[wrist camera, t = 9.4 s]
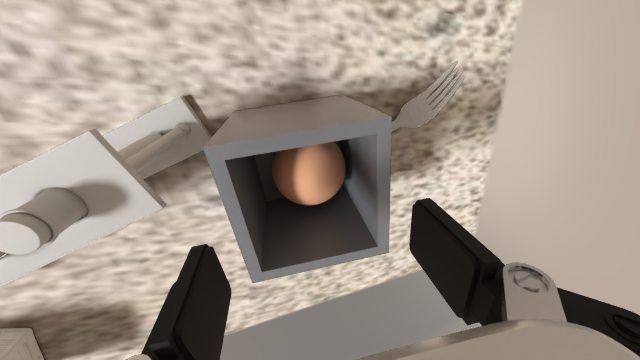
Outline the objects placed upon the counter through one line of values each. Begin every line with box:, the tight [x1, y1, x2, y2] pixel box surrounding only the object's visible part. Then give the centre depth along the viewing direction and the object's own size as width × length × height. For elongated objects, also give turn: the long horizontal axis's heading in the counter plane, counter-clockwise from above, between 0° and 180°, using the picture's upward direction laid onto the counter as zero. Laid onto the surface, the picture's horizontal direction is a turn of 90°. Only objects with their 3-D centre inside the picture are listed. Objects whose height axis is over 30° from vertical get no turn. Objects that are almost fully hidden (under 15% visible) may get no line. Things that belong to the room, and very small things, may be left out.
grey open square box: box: [203, 95, 392, 283], centre depth 18 cm, size 10×10×10 cm
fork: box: [391, 61, 465, 132], centre depth 24 cm, size 3×21×3 cm, turn 128°
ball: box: [272, 142, 346, 205], centre depth 19 cm, size 6×6×6 cm
